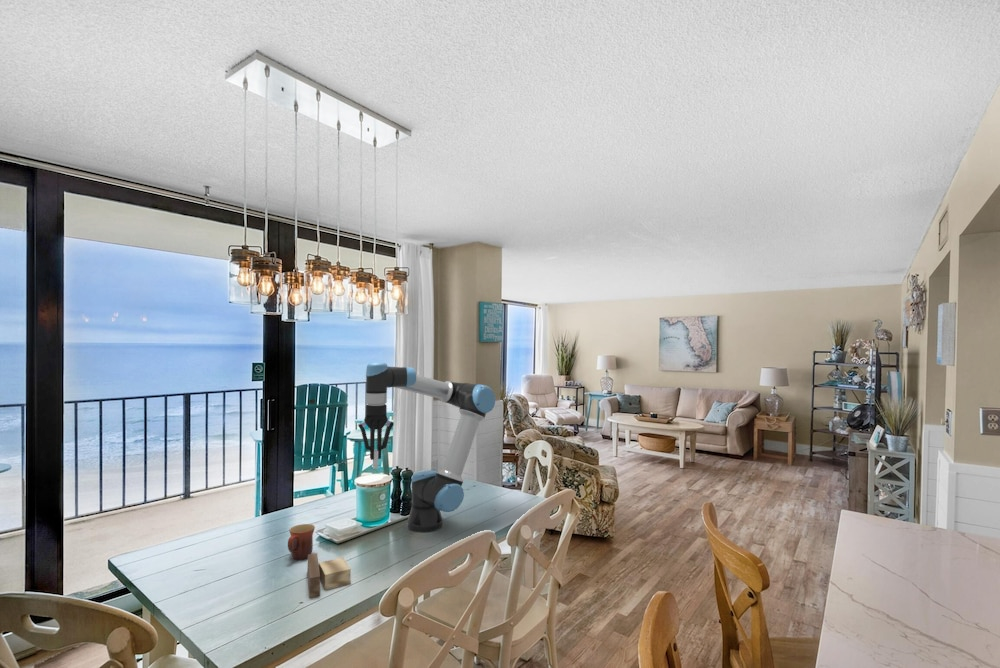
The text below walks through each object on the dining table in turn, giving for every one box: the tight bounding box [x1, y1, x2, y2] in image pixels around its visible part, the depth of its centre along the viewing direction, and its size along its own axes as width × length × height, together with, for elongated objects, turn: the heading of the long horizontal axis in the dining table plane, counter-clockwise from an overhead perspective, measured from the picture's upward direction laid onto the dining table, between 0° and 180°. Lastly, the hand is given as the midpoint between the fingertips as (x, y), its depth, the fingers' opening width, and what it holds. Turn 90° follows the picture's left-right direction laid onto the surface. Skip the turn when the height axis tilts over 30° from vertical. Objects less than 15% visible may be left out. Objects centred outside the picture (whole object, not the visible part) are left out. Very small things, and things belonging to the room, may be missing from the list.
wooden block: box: [307, 552, 321, 599], centre depth 157 cm, size 3×18×6 cm, turn 24°
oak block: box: [318, 556, 352, 590], centre depth 159 cm, size 8×10×5 cm
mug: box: [287, 523, 316, 561], centre depth 175 cm, size 12×9×10 cm
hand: (375, 467), depth 178 cm, fingers closed
